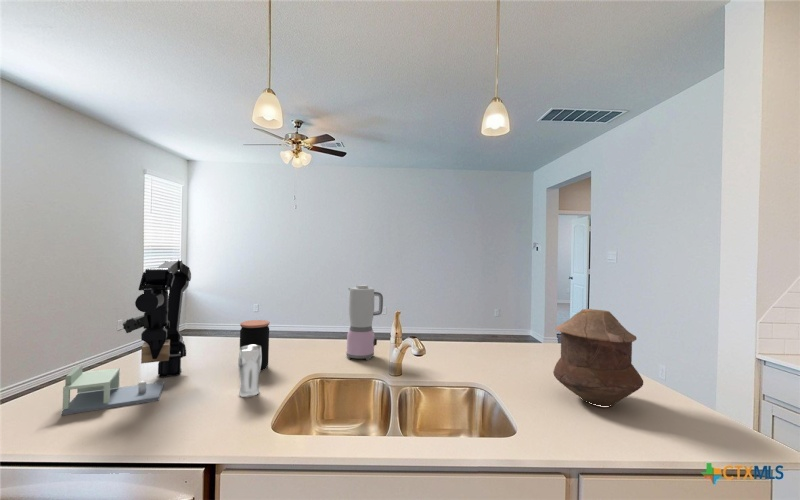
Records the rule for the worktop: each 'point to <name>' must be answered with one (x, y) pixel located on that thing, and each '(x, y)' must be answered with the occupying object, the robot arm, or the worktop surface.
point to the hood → (90, 382)
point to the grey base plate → (115, 397)
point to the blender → (362, 322)
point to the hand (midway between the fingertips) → (155, 355)
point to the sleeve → (163, 355)
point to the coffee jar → (256, 337)
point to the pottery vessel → (597, 358)
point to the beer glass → (249, 369)
